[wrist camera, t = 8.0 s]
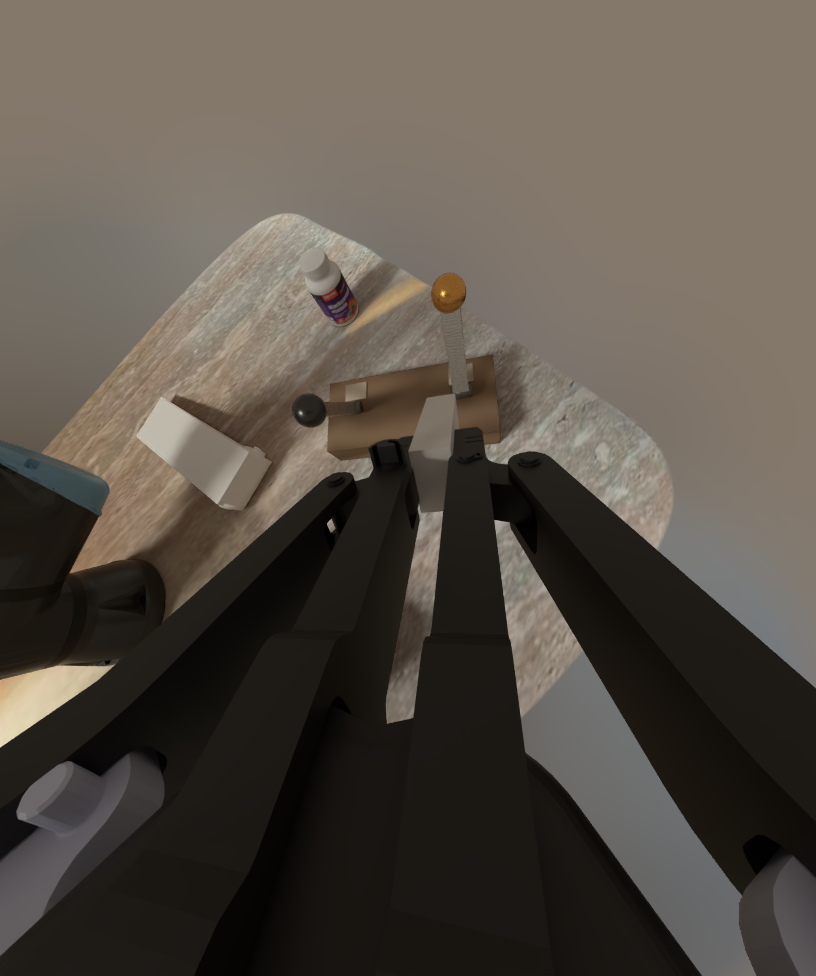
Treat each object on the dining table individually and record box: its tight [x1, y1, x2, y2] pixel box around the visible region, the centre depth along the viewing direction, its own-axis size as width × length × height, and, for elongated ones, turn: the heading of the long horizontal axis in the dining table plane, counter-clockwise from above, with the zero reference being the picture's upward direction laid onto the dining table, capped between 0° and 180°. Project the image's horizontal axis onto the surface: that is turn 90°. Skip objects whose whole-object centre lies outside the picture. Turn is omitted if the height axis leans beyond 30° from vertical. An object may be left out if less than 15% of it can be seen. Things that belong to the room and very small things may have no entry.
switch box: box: [327, 355, 500, 461], centre depth 41 cm, size 10×22×4 cm, turn 91°
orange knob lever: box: [431, 273, 472, 399], centre depth 32 cm, size 3×3×13 cm
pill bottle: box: [299, 247, 358, 327], centre depth 46 cm, size 5×5×10 cm
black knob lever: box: [292, 394, 363, 428], centre depth 34 cm, size 3×3×13 cm
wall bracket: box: [136, 397, 272, 510], centre depth 51 cm, size 10×7×28 cm
